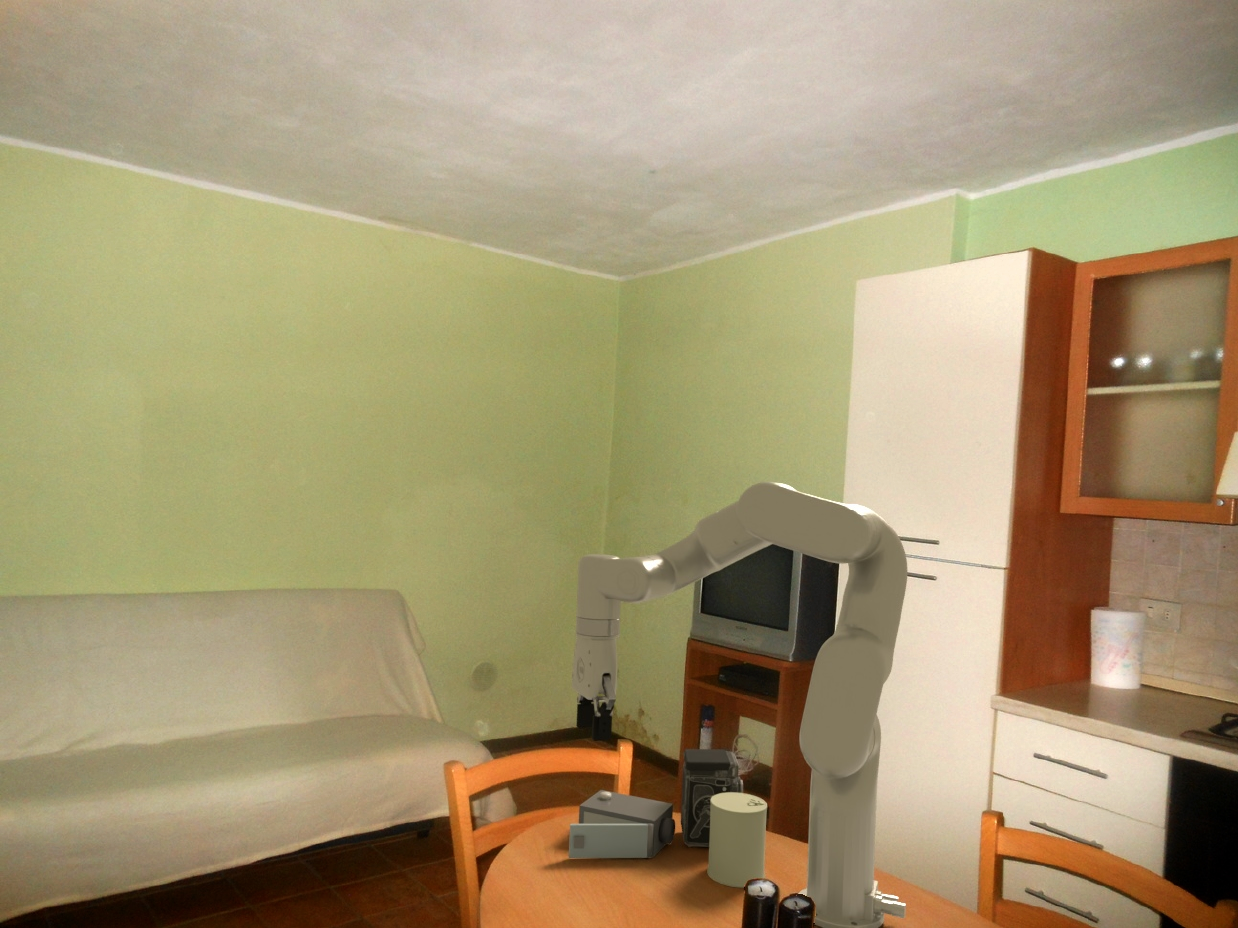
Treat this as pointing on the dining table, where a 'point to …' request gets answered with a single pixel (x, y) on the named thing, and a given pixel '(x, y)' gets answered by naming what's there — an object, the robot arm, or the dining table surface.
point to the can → (736, 838)
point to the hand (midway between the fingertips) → (593, 732)
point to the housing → (630, 814)
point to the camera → (705, 789)
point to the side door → (611, 840)
